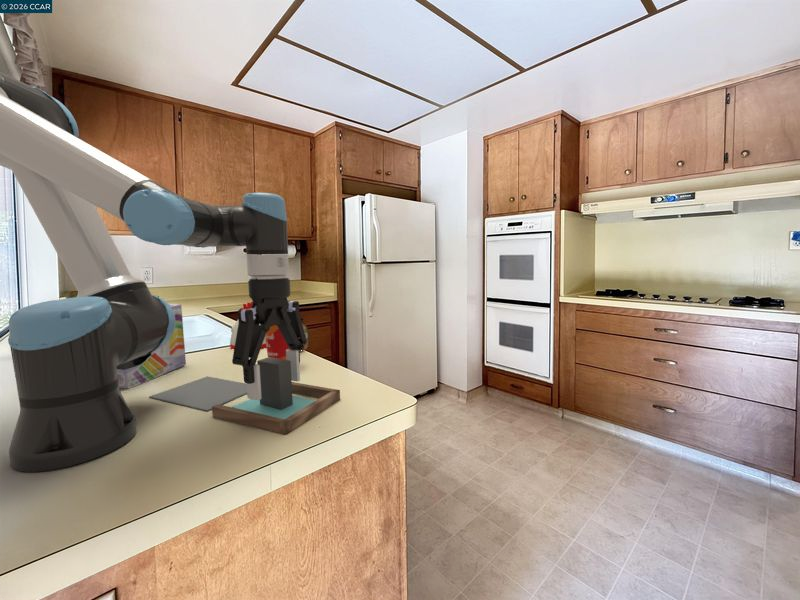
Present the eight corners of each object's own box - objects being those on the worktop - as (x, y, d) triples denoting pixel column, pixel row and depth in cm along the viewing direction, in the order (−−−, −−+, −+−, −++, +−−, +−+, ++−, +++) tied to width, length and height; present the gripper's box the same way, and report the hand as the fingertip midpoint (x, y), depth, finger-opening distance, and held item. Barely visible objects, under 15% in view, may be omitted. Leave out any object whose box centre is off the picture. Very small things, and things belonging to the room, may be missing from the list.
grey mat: (207, 411, 70) (207, 410, 70) (149, 397, 78) (149, 396, 78) (261, 387, 83) (261, 386, 83) (207, 377, 90) (207, 376, 90)
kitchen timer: (220, 349, 119) (217, 304, 117) (250, 340, 131) (248, 299, 130) (255, 352, 114) (252, 305, 112) (282, 342, 127) (280, 300, 125)
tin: (288, 360, 105) (286, 331, 104) (278, 359, 106) (276, 331, 105) (310, 347, 120) (309, 322, 119) (301, 346, 120) (300, 322, 119)
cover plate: (282, 426, 65) (279, 373, 63) (231, 410, 71) (228, 362, 70) (320, 405, 73) (318, 358, 72) (272, 393, 80) (269, 350, 79)
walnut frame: (285, 434, 61) (285, 423, 61) (212, 416, 68) (211, 406, 68) (340, 399, 76) (339, 390, 75) (275, 387, 83) (274, 379, 83)
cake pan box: (125, 391, 82) (116, 314, 80) (106, 390, 83) (97, 314, 80) (188, 366, 101) (183, 303, 98) (172, 365, 101) (167, 303, 99)
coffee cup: (264, 365, 100) (261, 312, 98) (295, 362, 103) (293, 310, 101) (265, 374, 92) (261, 316, 90) (298, 370, 95) (295, 314, 93)
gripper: (234, 281, 57) (243, 415, 60) (321, 274, 78) (325, 373, 80) (202, 281, 60) (212, 407, 63) (293, 274, 81) (298, 369, 84)
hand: (275, 388), depth 72 cm, fingers open, 10 cm apart
